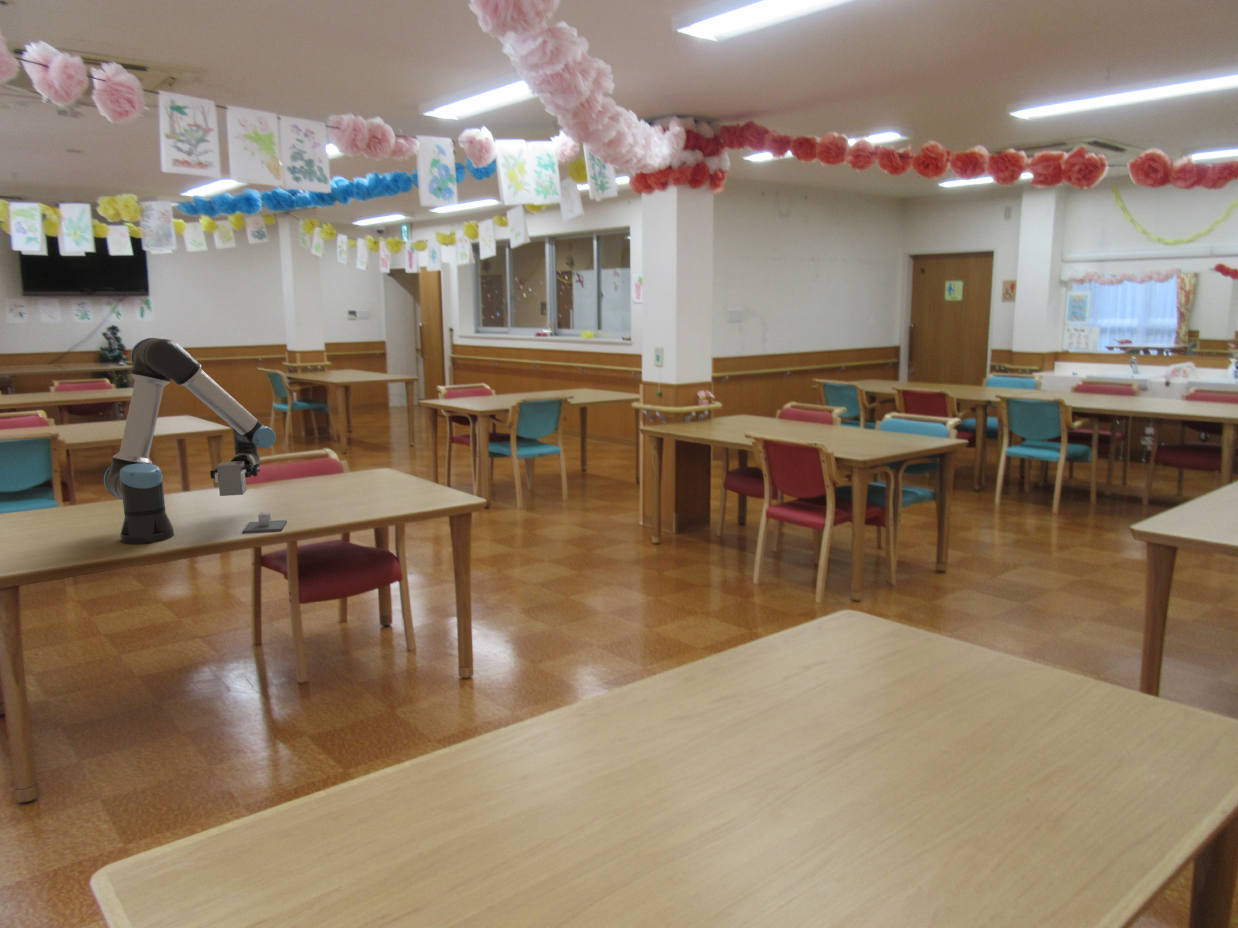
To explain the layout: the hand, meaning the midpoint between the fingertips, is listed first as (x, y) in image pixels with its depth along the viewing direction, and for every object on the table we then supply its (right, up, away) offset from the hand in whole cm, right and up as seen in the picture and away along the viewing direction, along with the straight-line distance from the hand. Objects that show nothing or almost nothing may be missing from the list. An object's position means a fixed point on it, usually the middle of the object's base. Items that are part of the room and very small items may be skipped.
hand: (229, 477), depth 285 cm
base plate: (+8, -17, +9) cm, 21 cm away
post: (+8, -17, +9) cm, 21 cm away
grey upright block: (-1, -5, +5) cm, 7 cm away
